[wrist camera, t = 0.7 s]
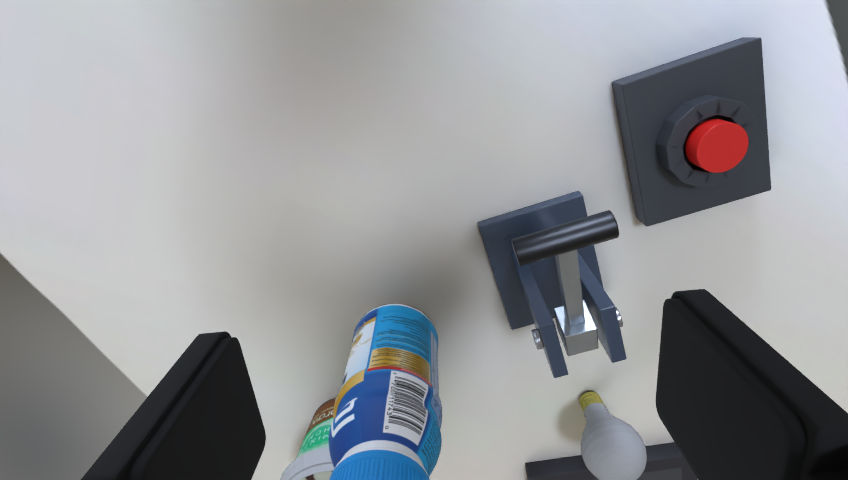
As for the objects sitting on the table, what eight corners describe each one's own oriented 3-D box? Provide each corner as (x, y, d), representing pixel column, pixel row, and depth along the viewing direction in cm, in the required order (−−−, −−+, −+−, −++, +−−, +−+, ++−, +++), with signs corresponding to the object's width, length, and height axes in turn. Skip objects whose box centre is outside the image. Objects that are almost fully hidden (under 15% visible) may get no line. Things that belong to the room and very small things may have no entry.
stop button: (681, 128, 36) (694, 132, 34) (732, 111, 35) (746, 115, 34) (687, 173, 37) (699, 179, 35) (736, 158, 37) (750, 163, 35)
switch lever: (507, 228, 27) (518, 261, 26) (604, 199, 27) (622, 230, 25) (535, 334, 36) (545, 362, 34) (609, 313, 35) (622, 342, 34)
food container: (358, 365, 49) (342, 442, 39) (399, 402, 50) (393, 484, 41) (275, 426, 52) (242, 510, 43) (316, 458, 54) (293, 546, 44)
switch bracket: (477, 222, 43) (496, 293, 31) (578, 190, 41) (638, 252, 30) (509, 323, 47) (537, 420, 35) (602, 297, 45) (663, 389, 34)
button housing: (611, 81, 38) (631, 86, 34) (743, 37, 37) (778, 37, 33) (636, 217, 42) (655, 235, 39) (754, 182, 41) (786, 197, 37)
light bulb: (623, 401, 50) (667, 483, 41) (576, 423, 51) (608, 508, 42) (600, 365, 48) (641, 443, 39) (552, 389, 50) (580, 470, 40)
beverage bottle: (452, 356, 48) (467, 555, 30) (375, 383, 50) (344, 588, 31) (418, 287, 45) (411, 460, 27) (337, 317, 47) (278, 502, 28)
